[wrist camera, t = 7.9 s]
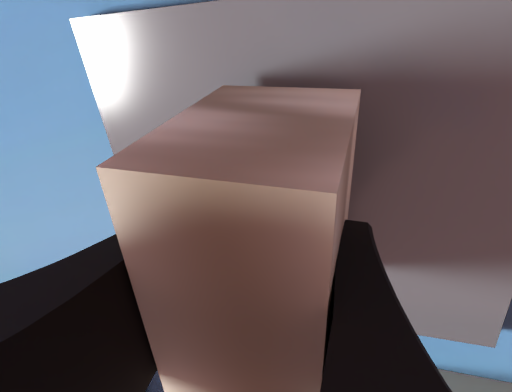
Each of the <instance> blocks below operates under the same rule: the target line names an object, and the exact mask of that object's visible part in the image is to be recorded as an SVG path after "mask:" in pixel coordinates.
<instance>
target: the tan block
mask: <svg viewBox="0 0 512 392" xmlns="http://www.w3.org/2000/svg"><path fill="white" fill-rule="evenodd" d="M360 95H361V89H332V88H298V87H263V86H229V85H223V86H221V87H220V88H218V89H216V90H215V91H213V92H212V93H210V94H209V95H207V96H206V97H204V98H202V99H201V100H199V101H198V102H196V103H195V104H193V105H192V106H190V107H188V108H187V109H185V110H184V111H182V112H181V113H179V114H178V115H176V116H174V117H173V118H171V119H170V120H168V121H167V122H165V123H164V124H162V125H160V126H159V127H157V128H156V129H154V130H153V131H151V132H150V133H148V134H146V135H145V136H143V137H142V138H140V139H139V140H137V141H136V142H134V143H132V144H131V145H129V146H128V147H126V148H125V149H123V150H122V151H120V152H118V153H117V154H115V155H114V156H112V157H111V158H109V159H108V160H106V161H104V162H103V163H101V164H100V165H98V166H97V167H96V169H97V173H98V176H99V179H100V183H101V186H102V189H103V192H104V196H105V199H106V202H107V206H108V209H109V212H110V215H111V219H112V222H113V225H114V229H115V232H116V235H117V238H118V242H119V245H120V248H121V251H122V255H123V258H124V261H125V265H126V268H127V271H128V274H129V278H130V281H131V284H132V288H133V291H134V294H135V297H136V301H137V304H138V307H139V311H140V314H141V317H142V320H143V324H144V327H145V330H146V334H147V337H148V340H149V343H150V347H151V350H152V353H153V357H154V360H155V363H156V366H157V370H158V373H159V376H160V379H161V383H162V386H163V389H164V392H320V389H321V383H322V378H323V372H324V366H325V361H326V355H327V349H328V343H329V333H330V321H331V310H332V299H333V288H334V277H335V266H336V260H337V255H338V250H339V245H340V240H341V235H342V230H343V226H344V222H345V220H348V211H349V202H350V192H351V182H352V172H353V163H354V153H355V143H356V134H357V124H358V114H359V105H360Z"/></svg>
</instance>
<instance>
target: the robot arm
mask: <svg viewBox="0 0 512 392" xmlns="http://www.w3.org/2000/svg"><path fill="white" fill-rule="evenodd" d="M156 371H157V366H156V363H155V360H154V357H153V353H152V350H151V347H150V343H149V340H148V337H147V334H146V330H145V327H144V324H143V320H142V317H141V314H140V311H139V307H138V304H137V301H136V297H135V294H134V291H133V288H132V284H131V281H130V278H129V274H128V271H127V268H126V265H125V261H124V258H123V255H122V251H121V248H120V245H119V242H118V238H117V235H116V234H115V235H113V236H111V237H109V238H107V239H105V240H103V241H101V242H98V243H96V244H94V245H92V246H90V247H88V248H86V249H84V250H82V251H80V252H77V253H75V254H73V255H71V256H69V257H67V258H64V259H62V260H60V261H57V262H55V263H53V264H50V265H48V266H45V267H43V268H40V269H38V270H35V271H33V272H30V273H28V274H25V275H22V276H20V277H17V278H14V279H12V280H9V281H6V282H3V283H0V392H145V391H146V389H147V387H148V385H149V383H150V382H151V380H152V378H153V376H154V374H155V373H156ZM320 392H452V391H451V389H450V388H449V386H448V385H447V383H446V382H445V380H444V378H443V377H442V375H441V374H440V372H439V370H438V369H437V367H436V366H435V364H434V362H433V361H432V359H431V358H430V356H429V354H428V353H427V351H426V349H425V348H424V346H423V344H422V343H421V341H420V339H419V337H418V336H417V334H416V332H415V330H414V328H413V327H412V325H411V323H410V321H409V319H408V317H407V315H406V313H405V311H404V310H403V308H402V306H401V304H400V302H399V300H398V297H397V295H396V293H395V291H394V289H393V287H392V284H391V282H390V280H389V278H388V275H387V273H386V271H385V268H384V266H383V263H382V261H381V258H380V255H379V252H378V250H377V246H376V243H375V240H374V236H373V231H372V227H371V226H370V224H369V223H368V222H361V221H353V220H345V222H344V226H343V230H342V235H341V240H340V245H339V250H338V255H337V260H336V266H335V277H334V288H333V299H332V310H331V321H330V333H329V343H328V349H327V355H326V361H325V366H324V372H323V378H322V383H321V389H320Z"/></svg>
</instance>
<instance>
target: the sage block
mask: <svg viewBox="0 0 512 392" xmlns="http://www.w3.org/2000/svg"><path fill="white" fill-rule="evenodd" d="M438 370H439V372H440V374H441V375H442V377H443V378H444V380H445V382H446V383H447V385H448V386H449V388H450V389H451V391H452V392H512V383H509V382H504V381H499V380H494V379H489V378H483V377H478V376H473V375H468V374H462V373H457V372H452V371H447V370H442V369H438Z"/></svg>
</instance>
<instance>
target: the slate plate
mask: <svg viewBox="0 0 512 392" xmlns="http://www.w3.org/2000/svg"><path fill="white" fill-rule="evenodd" d="M69 20H70V23H71V26H72V29H73V32H74V35H75V38H76V41H77V44H78V47H79V50H80V53H81V56H82V59H83V62H84V66H85V69H86V72H87V75H88V78H89V81H90V84H91V87H92V90H93V93H94V96H95V99H96V102H97V105H98V108H99V111H100V114H101V117H102V121H103V124H104V127H105V130H106V133H107V136H108V139H109V142H110V145H111V148H112V151H113V154H114V155H115V154H117V153H118V152H120V151H122V150H123V149H125V148H126V147H128V146H129V145H131V144H132V143H134V142H136V141H137V140H139V139H140V138H142V137H143V136H145V135H146V134H148V133H150V132H151V131H153V130H154V129H156V128H157V127H159V126H160V125H162V124H164V123H165V122H167V121H168V120H170V119H171V118H173V117H174V116H176V115H178V114H179V113H181V112H182V111H184V110H185V109H187V108H188V107H190V106H192V105H193V104H195V103H196V102H198V101H199V100H201V99H202V98H204V97H206V96H207V95H209V94H210V93H212V92H213V91H215V90H216V89H218V88H220V87H221V86H223V85H229V86H263V87H298V88H332V89H361V95H360V105H359V114H358V124H357V134H356V143H355V153H354V163H353V172H352V182H351V192H350V202H349V211H348V220H353V221H361V222H368V223H369V224H370V226H371V227H372V231H373V236H374V240H375V243H376V246H377V250H378V252H379V255H380V258H381V261H382V263H383V266H384V268H385V271H386V273H387V275H388V278H389V280H390V282H391V284H392V287H393V289H394V291H395V293H396V295H397V297H398V300H399V302H400V304H401V306H402V308H403V310H404V311H405V313H406V315H407V317H408V319H409V321H410V323H411V325H412V327H413V328H414V330H415V332H416V334H417V335H422V336H428V337H434V338H440V339H446V340H452V341H458V342H464V343H470V344H476V345H482V346H488V347H494V348H495V346H496V343H497V340H498V337H499V334H500V331H501V328H502V325H503V323H504V320H505V317H506V314H507V311H508V308H509V305H510V302H511V299H512V0H218V1H209V2H201V3H193V4H185V5H177V6H169V7H161V8H153V9H145V10H137V11H129V12H120V13H112V14H104V15H96V16H88V17H80V18H72V19H69Z"/></svg>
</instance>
